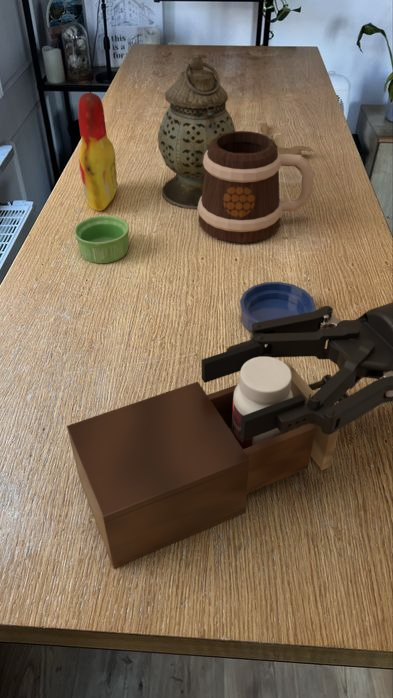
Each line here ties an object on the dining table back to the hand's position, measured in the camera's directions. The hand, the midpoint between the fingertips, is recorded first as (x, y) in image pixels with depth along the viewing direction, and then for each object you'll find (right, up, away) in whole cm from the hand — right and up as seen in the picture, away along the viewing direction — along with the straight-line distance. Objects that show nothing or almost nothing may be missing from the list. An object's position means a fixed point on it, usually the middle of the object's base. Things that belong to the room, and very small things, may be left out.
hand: (222, 398), depth 58 cm
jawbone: (+17, +51, +75) cm, 92 cm away
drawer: (+6, -6, +9) cm, 13 cm away
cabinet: (-6, -11, +6) cm, 14 cm away
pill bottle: (+4, -6, +8) cm, 11 cm away
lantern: (-2, +35, +57) cm, 67 cm away
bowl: (+9, +9, +28) cm, 31 cm away
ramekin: (-18, +21, +42) cm, 51 cm away
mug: (+8, +27, +48) cm, 56 cm away
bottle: (-21, +33, +55) cm, 68 cm away
